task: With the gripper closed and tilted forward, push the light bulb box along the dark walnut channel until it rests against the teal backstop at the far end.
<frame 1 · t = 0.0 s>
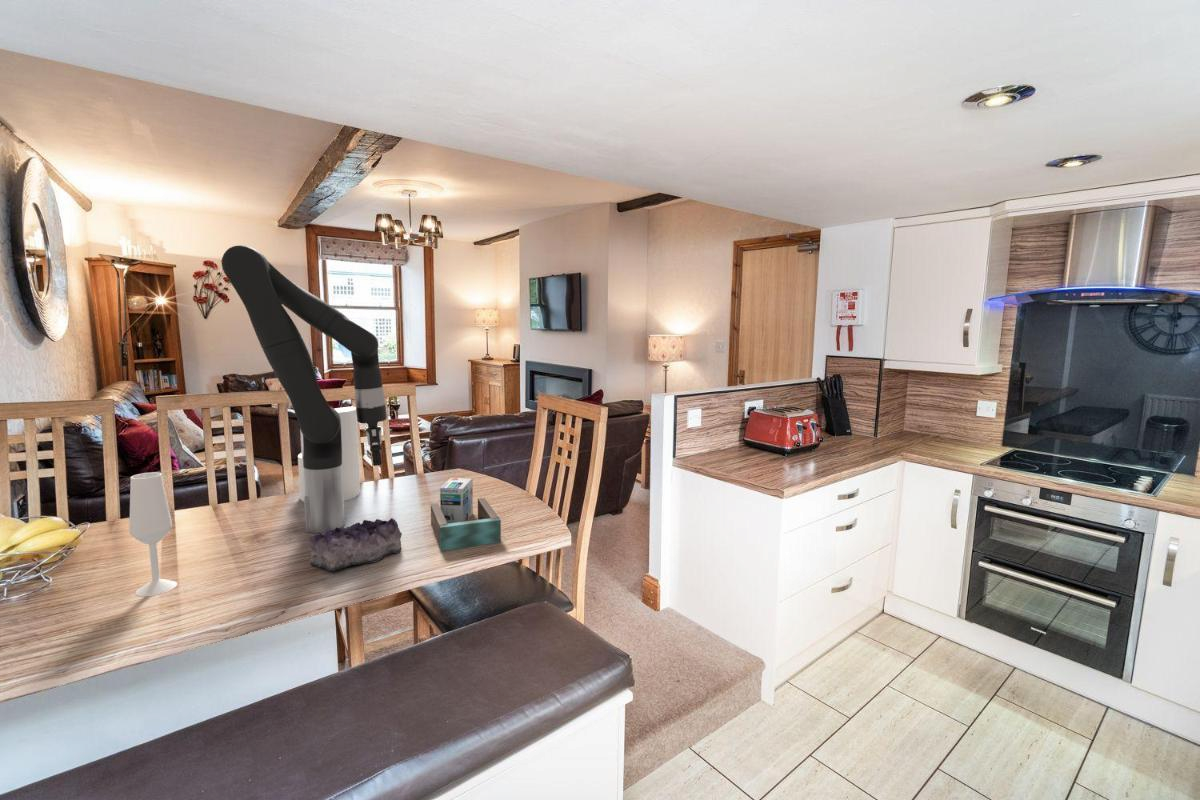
hand: (376, 461, 148), 17 cm above the table, fingers open, 8 cm apart
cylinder: (330, 495, 172), on the table
channel: (465, 534, 142), on the table
champagne flute: (156, 589, 110), on the table
geode: (358, 559, 127), on the table
light bulb box: (457, 519, 154), on the table
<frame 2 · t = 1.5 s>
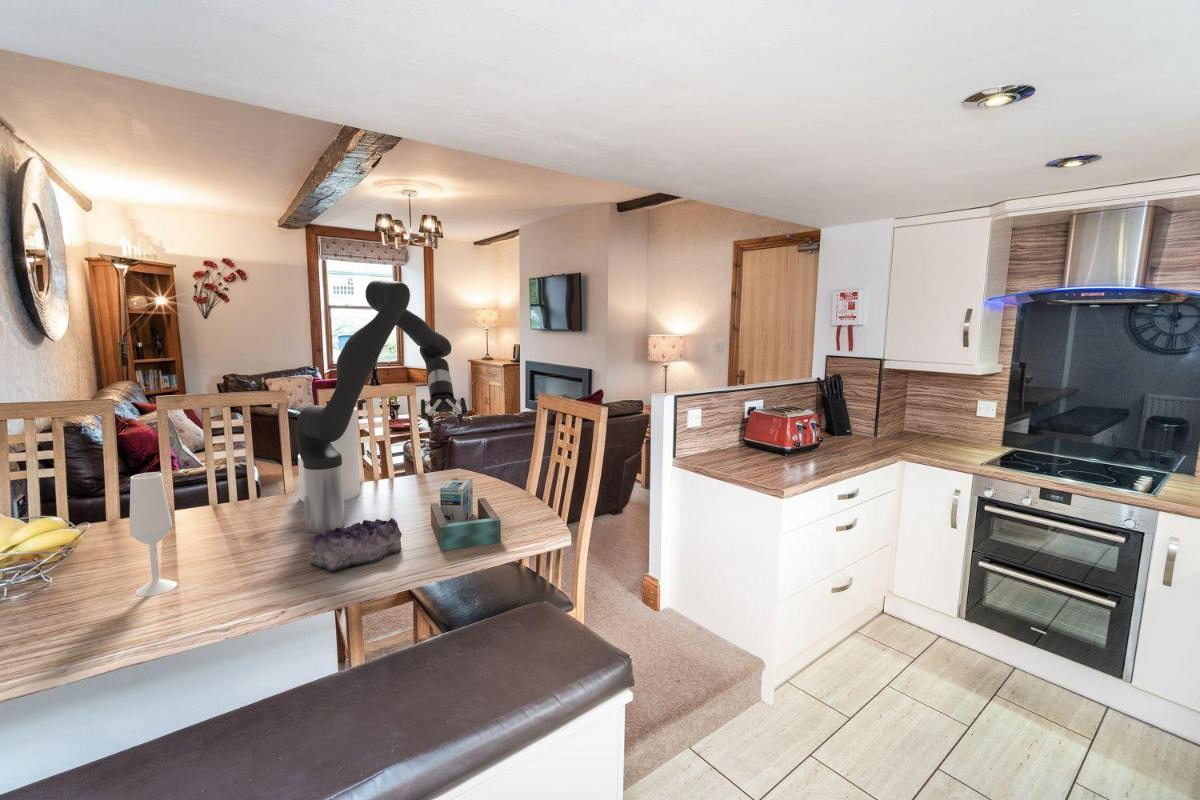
hand: (446, 426, 169), 23 cm above the table, fingers open, 8 cm apart
nothing on the table moved.
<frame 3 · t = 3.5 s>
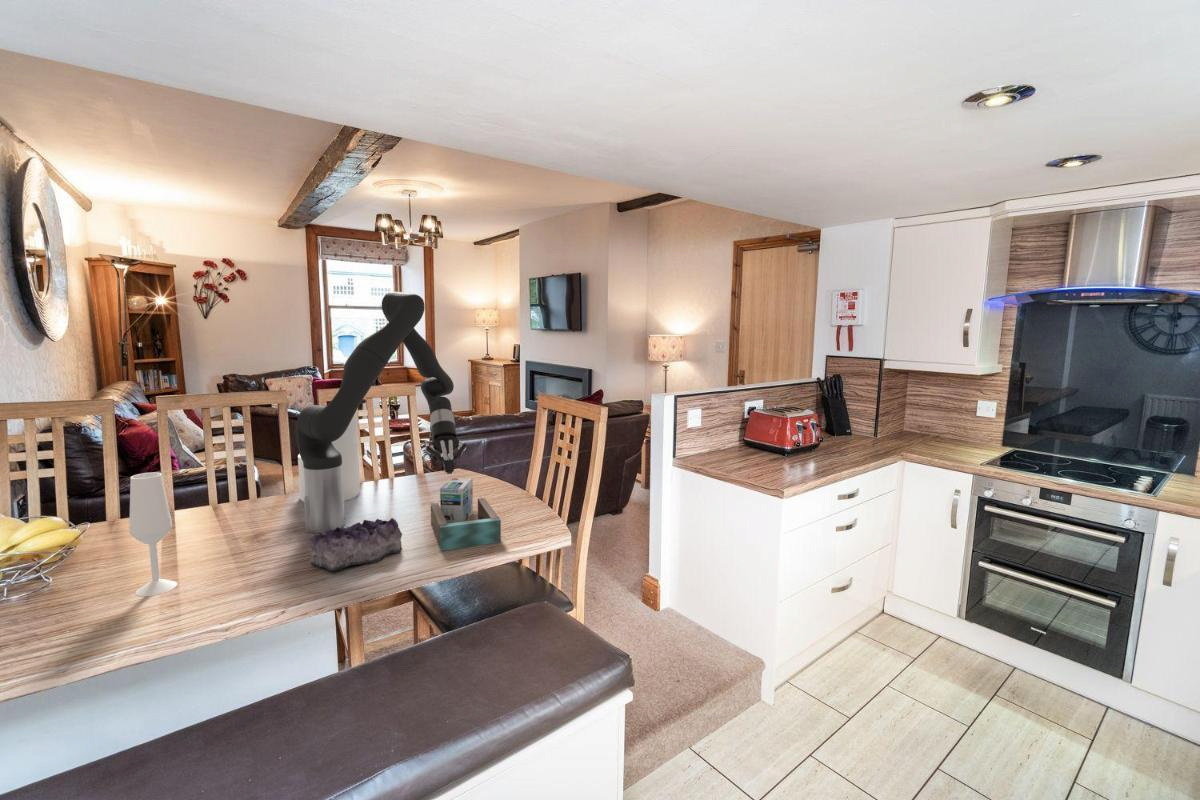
hand: (449, 472, 164), 10 cm above the table, fingers closed
nothing on the table moved.
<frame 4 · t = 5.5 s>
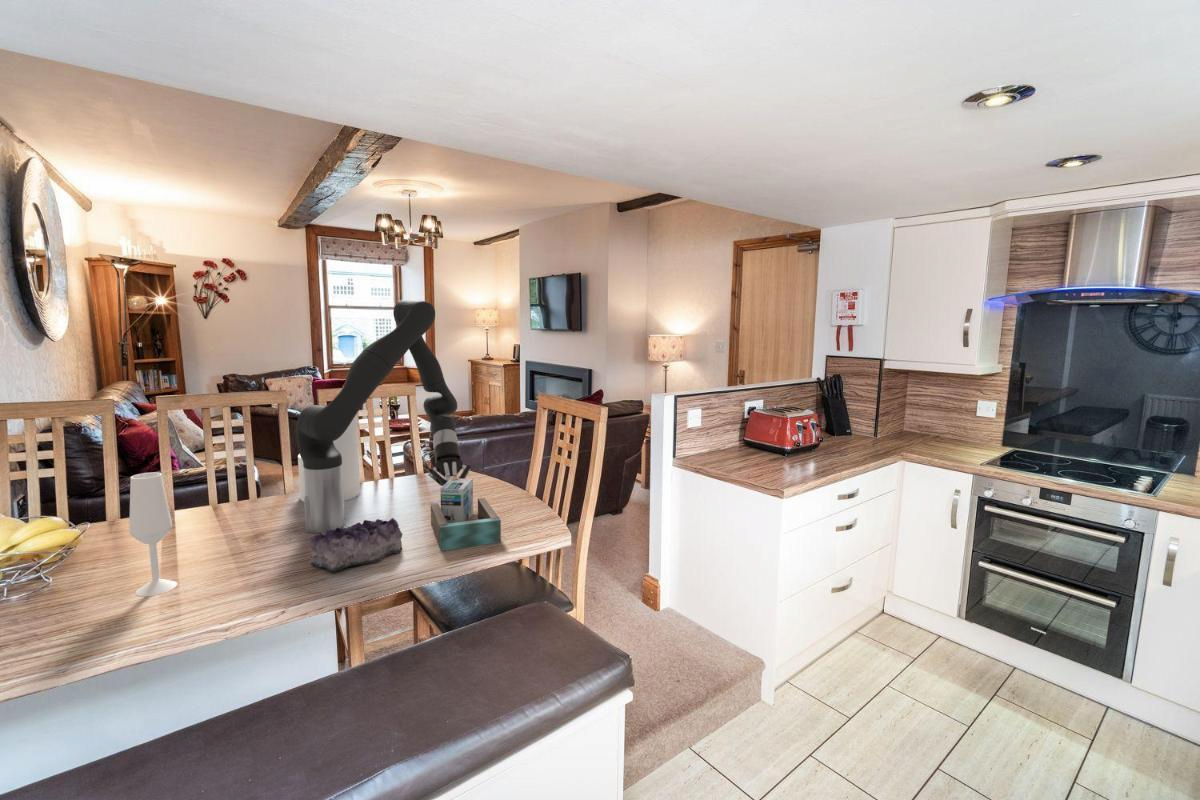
hand: (453, 496, 158), 5 cm above the table, fingers closed
light bulb box: (457, 520, 153), on the table, touching gripper
everything else where it was.
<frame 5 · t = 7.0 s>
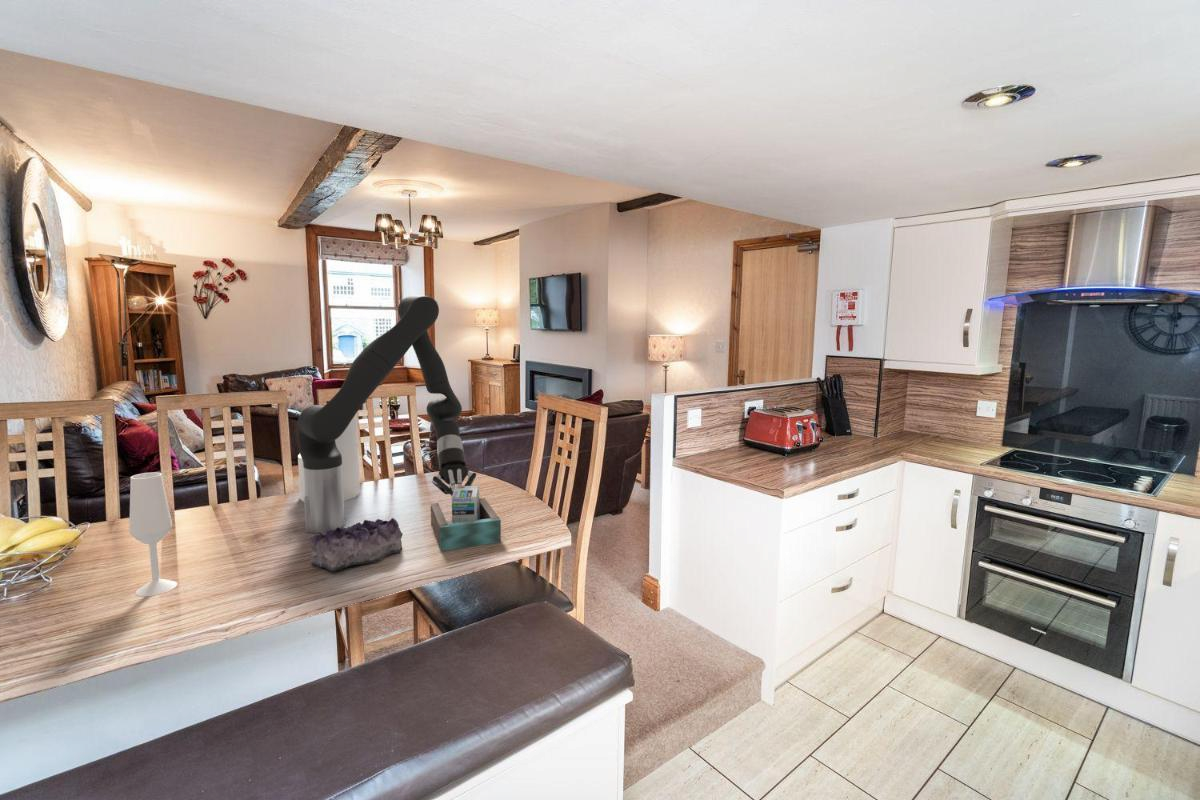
hand: (458, 505, 151), 5 cm above the table, fingers closed
light bulb box: (466, 529, 146), resting in channel, touching gripper
everything else where it was.
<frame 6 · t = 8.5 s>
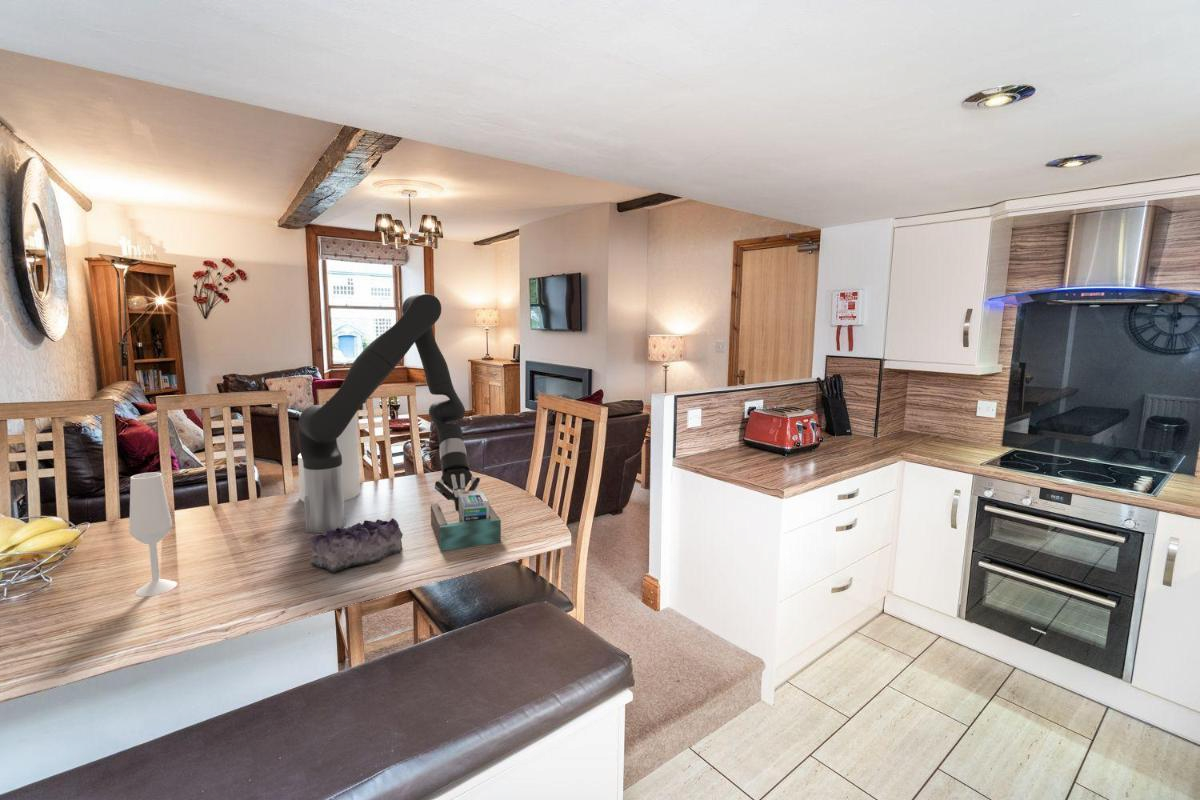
hand: (461, 511, 146), 5 cm above the table, fingers closed
light bulb box: (473, 535, 142), resting in channel, touching gripper
everything else where it was.
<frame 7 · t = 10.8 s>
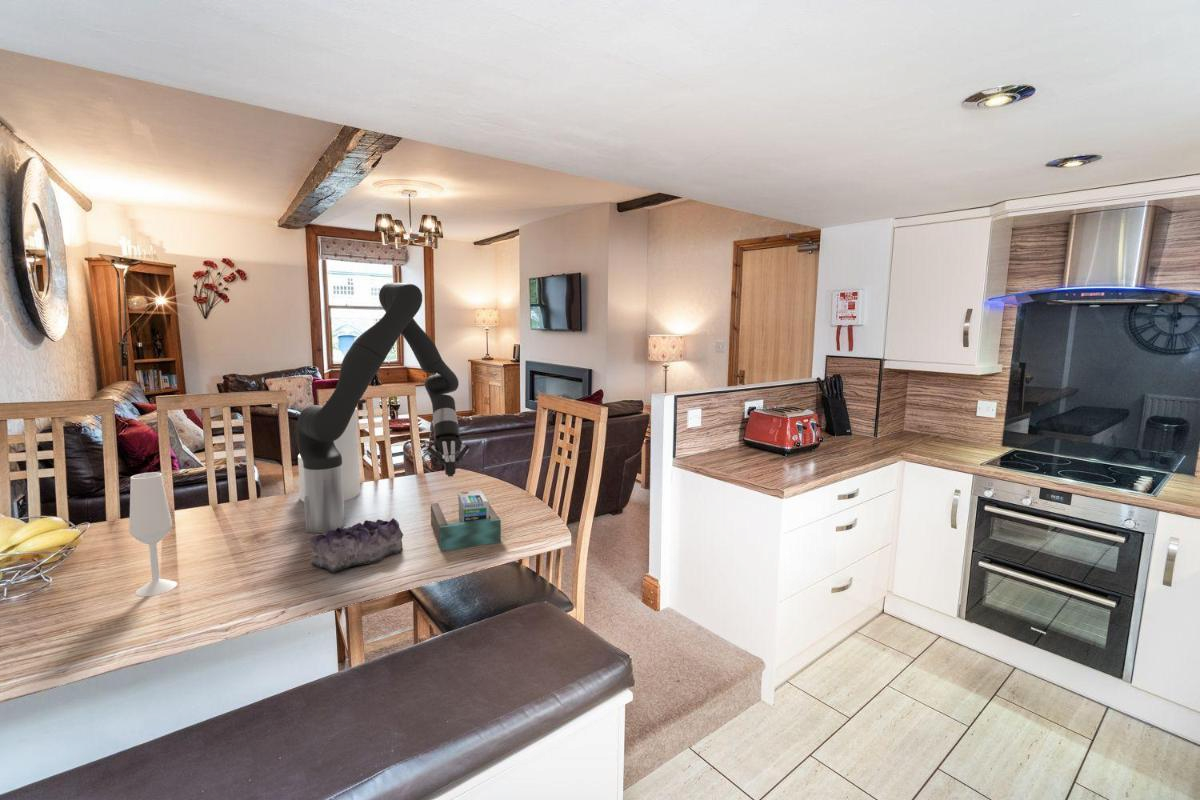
hand: (450, 475, 158), 11 cm above the table, fingers closed
light bulb box: (473, 535, 142), resting in channel
everything else where it was.
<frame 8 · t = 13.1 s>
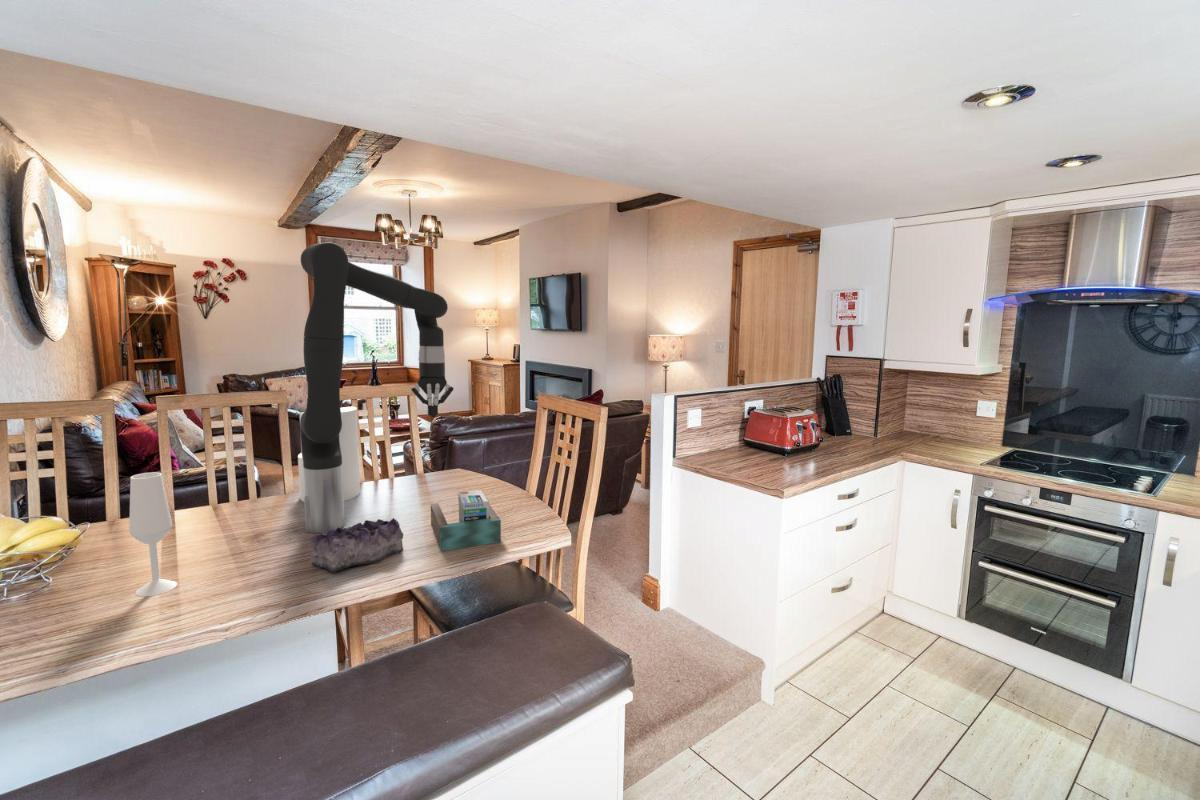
hand: (433, 417, 164), 27 cm above the table, fingers closed
nothing on the table moved.
at the end: light bulb box 2.0 cm off-centre on the channel, point 0.0 cm above the channel's base; light bulb box tilted 0° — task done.
